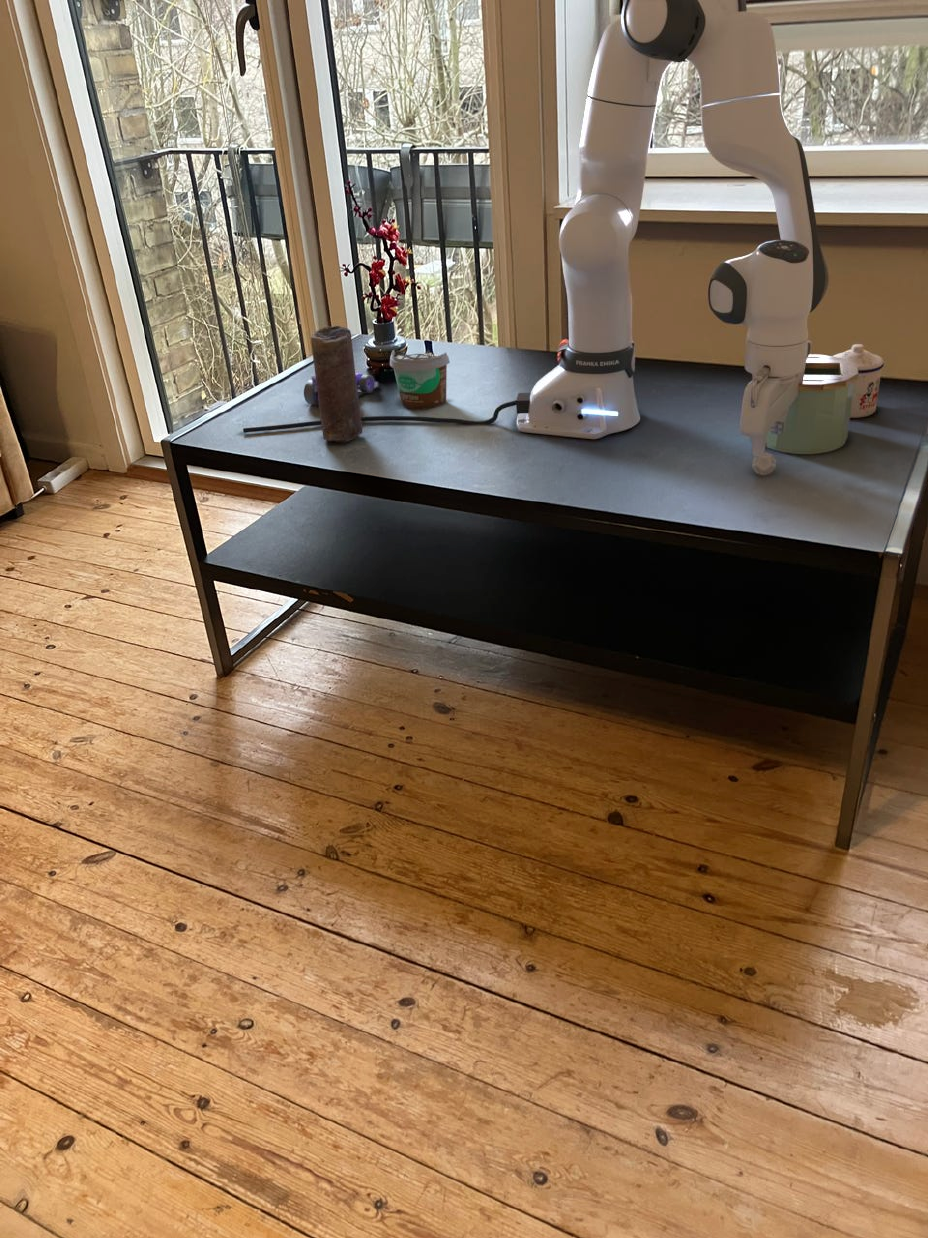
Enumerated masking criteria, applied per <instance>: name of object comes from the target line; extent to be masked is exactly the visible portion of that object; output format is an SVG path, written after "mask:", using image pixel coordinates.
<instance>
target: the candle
mask: <svg viewBox="0 0 928 1238" xmlns="http://www.w3.org/2000/svg"><path fill="white" fill-rule="evenodd" d="M310 345H311V353H312V359H313V360H312V361H313V366H314V368H313V369H314V375H315V376H316V383H317V391H318V399H319V405H318V407H319V415H320V416H319V417H320V420H321V424H322V425H321V431H322V438H323V440H325V441H326V442H336V443H337V442H338V443H349V441H352V440H354V439H355V438H356V437H358V436H360V435H361V434H363V424H362V421H361V417H362V415H361V414H362V413H361V405H360V400H359V397H358V392H359V391H358V390H357V388H358V386H357V382H356V374H355V373H356V367H355V366H356V365H355V357H354V349H353V340H352V332H351V329H349V328H348V327H345V326H339V325H334V326H325V327H322V328H319V329H318V330H316V331H314V332H313V333H312V334H311V337H310Z"/></svg>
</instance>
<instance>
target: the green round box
mask: <svg viewBox="0 0 928 1238" xmlns="http://www.w3.org/2000/svg"><path fill="white" fill-rule="evenodd" d="M804 375H840V370H839V369H805V372H804ZM854 382H855V381H854ZM854 382H852V383H850V384H849V385H847V386H845V387H839V388H834V389H828V390H799V392H798V397H797V398H796V399H795V400H794V402H793V403H792V404H791V405H790V406H789V411H788V414H787V417H786V421H785V428H784V431H783V432H782V433H781V434H780V435H777V434H772V433H771V429H770V430H769V431H768V432H767V435H766V443H767V449H770V450H773V451H777V452H781V453H786V454H794V455H817V454H824V453H830V452H833V451H835V450H838V449H840V448H842V447H843V446H844V445H845V443H846V442H847V439H848V435H849V428H850V420H851V418H850V412H851V404H852V397H853V389H854Z"/></svg>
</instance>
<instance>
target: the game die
mask: <svg viewBox="0 0 928 1238" xmlns="http://www.w3.org/2000/svg"><path fill="white" fill-rule="evenodd" d="M776 464H777V460H776V459H775V457H774V454H772V453H769V452H766V453H765V454H764V455H763V456H762V457H759V456H754V458H753V459H752V464H751V465H752V466H751V468H752V470H754V472H755V474H758V475H761V476H767V475H771V474H772V472H773V471H775V469H776V466H777V465H776Z"/></svg>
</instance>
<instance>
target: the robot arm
mask: <svg viewBox="0 0 928 1238" xmlns="http://www.w3.org/2000/svg"><path fill="white" fill-rule="evenodd" d="M747 7H748V6H747V1H746V0H624V1H623V4H622V8H621V15H620V18H618V19H615V20H613V21H612V22H611V23H609V24H608V25H607V27H606V28H605V29H604V31H603V33H602V35H601V39H600V41H599V45H598V48H597V52H596V54H595V57H594V61H593V62H594V63H593V65H592V70H591V74H590V78H589V82H588V88H587V94H586V100H585V106H584V113H583V120H582V126H581V132H580V138H579V144H578V145H579V146H578V173H577V175H578V176H577V189H576V197H575V201H574V205H573V207H572V208H571V209H570V210H569V211H568V212H567V214H566V215H565V216H564V218H563V220H562V222H561V225H560V228H559V235H558V248H559V252H560V255H561V265H562V273H563V278H564V279H563V280H564V285H565V288H566V289H565V291H566V297H567V313H568V314H567V317H568V319H567V320H568V321H567V322H568V324H567V325H568V339H567V338H565V339H562V340H561V341H560V343H559V345H558V350H557V363H558V365H556V366H555V367H554V368H552V370H550V371H549V372H547V373H546V374H545V375H543V376H542V377H541V378H539V380H538V381H537V382H536V383H535V384H534V386H533V387H532V389H531V391H530V392H518V393H517V395H516V399H515V400H511V401H508V402H504V403H501V404H500V405H498V406H497V407H496V408H495V409H494V411H493V414H492V417H491V418H488V419H486V420H482V421H475V420H469V419H468V420H467V419H462V418H453V417H452V418H451V417H449V418H448V417H434V416H433V417H432V416H421V415H420V416H418V415H372V416H371V415H370V416H369V415H367V416H361V422H377V421H379V422H380V421H381V422H382V421H396V422H397V421H402V422H404V421H405V422H427V423H439V424H441V423H442V424H457V425H465V426H481V425H491V424H492V423H495V422H496V421H497V420H498V417H499V413H500V412H501V411H502V410H504V409H507V408H510V407H515V408H516V414H518V415H517V418H516V428H517V429H518V430H519V431H520V432H522V433H530V434H540V435H548V436H556V437H557V436H559V437H569V438H578V439H586V440H587V439H589V440H597V439H601V438H604V437H605V436H608V435H611V434H614V433H619V432H623V431H627V430H629V429H632V428H633V427H635V426H636V425H638V423H640V421H641V415H640V412H639V408H638V404H637V399H636V394H635V393H636V392H635V386H634V374H635V369H636V350H635V342H634V341H633V294H632V289H631V278H630V266H629V264H630V263H629V248H630V243H631V242H632V241H633V239H634V237H635V236H636V233H637V230H638V225H639V218H640V213H641V207H642V201H643V195H644V187H645V179H646V170H647V163H648V156H649V151H650V145H651V141H652V136H653V130H654V126H655V120H656V115H657V110H658V104H659V99H660V94H661V87H662V84H663V79H664V76H665V73H666V71H667V69H668V68H669V67H670V66H671V65H672V64H673V63H683V62H684V63H685V62H689V63H690V64H692V65H693V66H694V68H695V70H696V72H697V74H698V78H699V90H700V91H699V95H700V120H701V121H700V122H701V131H702V138H703V142H704V145H705V148H706V150H707V151H708V153H709V154H710V155H711V156H712V157H713V158H714V159H715V160H716V161H717V162H718V163H720V164H721V165H723V166H724V167H726V168H728V169H730V170H733V171H735V172H740V173H741V174H746V175H748V176H752V177H754V178H756V179H758V180H760V181H761V182H763V183H764V184H765V185H766V186H767V187H768V189H769V191H770V193H771V195H772V197H773V201H774V207H775V208H774V209H775V213H776V219H777V225H778V231H779V237H780V239H773V240H769V241H765V242H763V243H761V244H759V245H758V246H757V247H756V248H755V250H754V251H753V252H751V253H749V254H747V255H746V254H745V255H743V256H740V257H739V256H738V257H735V258H732V259H728V260H726V261H723V262H721V263H720V264H718V265H717V266H716V268H715V270H714V271H713V273H712V275H711V277H710V279H709V283H708V289H707V299H708V306H709V308H710V311H711V312H712V313H713V314H714V316H716V318H717V319H719V320H720V321H721V322H723V323H725V324H727V325H745V326H746V328H747V334H746V340H745V353H744V355H745V356H744V370H745V371H746V372H747V373H749V374H751V379H752V380H751V381H750V382H748V383H747V385H746V387H745V389H744V392H743V397H742V404H741V413H740V422H739V432H740V434H741V435H742V436H745V437H750V440H751V445H752V448H751V449H752V450H751V454H752V456H754V457H756V456H759V457H762V456H763V455H764V454H765V453H767V451H768V450H767V449H768V447H767V443H766V435H767V432H768V431H769V430H770V429H771V433H772V434H777V435H780V434H781V433H782V432H783V431H784V428H785V421H786V417H787V414H788V411H789V406H790V405H791V404H792V403H793V402H794V400H795V399H796V398H797V397H798V392H799V390H798V384H799V383H801V382H803V377H804V372H805V366H806V360H807V357H808V356H809V354H811V353H812V341H811V340H810V339H809V329H808V318H809V315H810V314H811V313H812V312H813V311H814V310H815V309H817V307H818V306H819V305H820V303H821V302H822V300H823V298H824V296H825V295H826V293H827V290H828V287H829V281H830V276H829V269H828V266H827V261H826V259H825V256H824V253H823V251H822V247H821V243H820V237H819V231H818V225H817V219H816V212H815V205H814V200H813V194H812V186H811V180H810V174H809V168H808V164H807V158H806V155H805V151H804V147H803V145H802V142H801V140H800V139H799V138H798V137H797V136H796V135H794V134H792V132H791V131H790V129H789V127H788V125H787V122H786V119H785V116H784V113H783V108H782V100H781V98H782V97H781V78H780V66H779V58H778V51H777V45H776V41H775V40H776V39H775V35H774V31H773V27H772V24H771V23H770V21H769V20H768V19H767V18H766V17H765V16H764V15H762V14H760V13H757V12H753V11H748V9H747ZM314 426H322V424H321V419H320V420H311V421H303V422H293V423H284V424H275V425H274V424H273V425H265V426H264V425H263V426H253V427H251V426H250V427H242V432H243V434H244V433H247V434H248V433H256V432H257V433H258V432H268V431H279V430H288V429H297V428H305V427H314Z"/></svg>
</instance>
